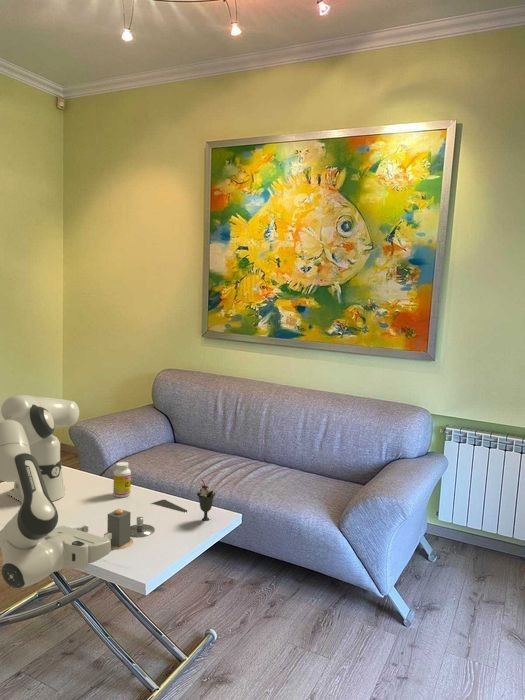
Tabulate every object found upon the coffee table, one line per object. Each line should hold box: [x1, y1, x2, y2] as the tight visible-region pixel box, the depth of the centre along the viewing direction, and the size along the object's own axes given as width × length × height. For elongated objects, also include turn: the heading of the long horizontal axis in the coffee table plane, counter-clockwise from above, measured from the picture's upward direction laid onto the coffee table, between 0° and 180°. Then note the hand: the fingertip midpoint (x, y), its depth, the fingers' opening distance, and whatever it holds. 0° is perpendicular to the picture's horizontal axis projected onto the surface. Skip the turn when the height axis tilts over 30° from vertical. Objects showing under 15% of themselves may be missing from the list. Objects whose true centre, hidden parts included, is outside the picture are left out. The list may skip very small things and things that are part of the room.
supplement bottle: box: [112, 461, 132, 498], centre depth 204 cm, size 7×7×13 cm
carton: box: [106, 508, 131, 548], centre depth 163 cm, size 5×5×11 cm
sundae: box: [196, 479, 216, 522], centre depth 182 cm, size 7×7×15 cm
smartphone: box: [150, 499, 188, 513], centre depth 193 cm, size 7×1×15 cm
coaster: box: [111, 537, 134, 550], centre depth 164 cm, size 9×9×1 cm
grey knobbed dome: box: [130, 516, 156, 538], centre depth 172 cm, size 10×10×5 cm
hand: (98, 531), depth 154 cm, fingers open, 8 cm apart
